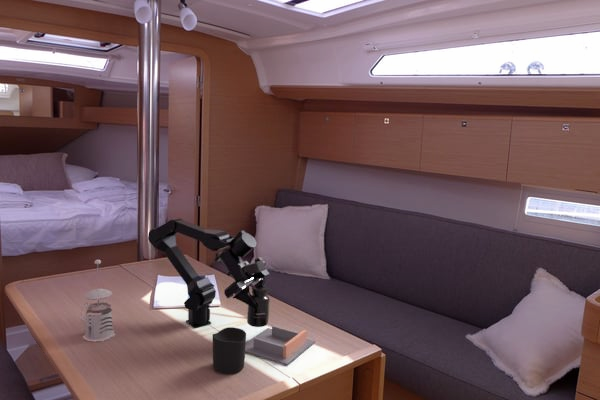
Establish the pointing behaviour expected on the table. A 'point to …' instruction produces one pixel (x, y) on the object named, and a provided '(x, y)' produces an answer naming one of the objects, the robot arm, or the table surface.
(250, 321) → the supplement bottle
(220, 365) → the pen holder
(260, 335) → the bottle holder
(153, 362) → the table surface
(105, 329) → the french press
